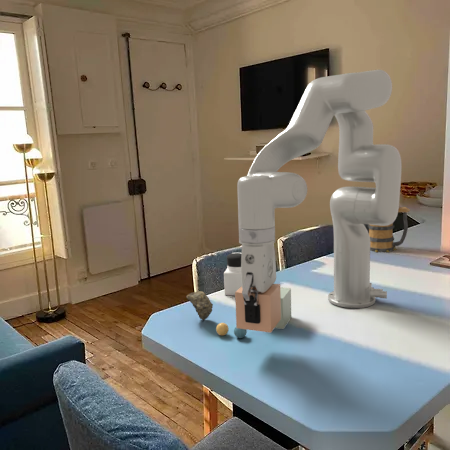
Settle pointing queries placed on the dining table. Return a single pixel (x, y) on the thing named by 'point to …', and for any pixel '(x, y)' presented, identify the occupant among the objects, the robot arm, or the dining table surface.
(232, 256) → the medicine bottle
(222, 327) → the marble amber
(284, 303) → the sage green cube
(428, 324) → the dining table surface
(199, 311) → the rock
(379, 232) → the mug
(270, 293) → the salmon pink box
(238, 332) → the marble teal
